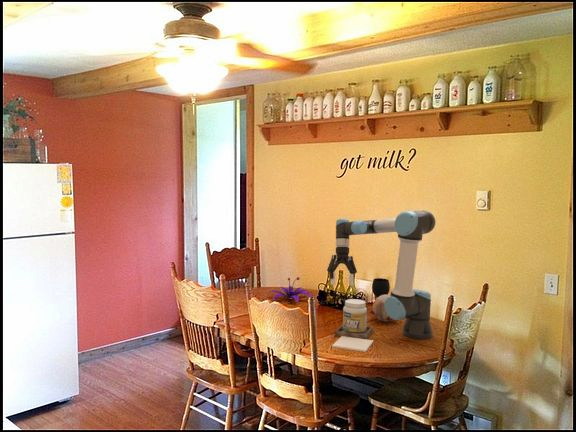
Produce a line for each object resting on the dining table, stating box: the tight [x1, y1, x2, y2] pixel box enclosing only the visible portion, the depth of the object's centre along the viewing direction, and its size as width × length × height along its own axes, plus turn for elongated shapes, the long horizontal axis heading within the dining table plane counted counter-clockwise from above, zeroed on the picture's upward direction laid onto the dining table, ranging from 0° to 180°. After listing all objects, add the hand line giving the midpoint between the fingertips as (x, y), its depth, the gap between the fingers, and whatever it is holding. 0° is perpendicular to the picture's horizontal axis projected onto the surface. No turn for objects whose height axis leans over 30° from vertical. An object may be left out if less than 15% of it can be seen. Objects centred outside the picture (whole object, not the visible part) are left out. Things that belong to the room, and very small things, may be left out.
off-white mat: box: [331, 336, 374, 353], centre depth 249 cm, size 16×16×1 cm
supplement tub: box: [342, 298, 368, 335], centre depth 266 cm, size 12×12×17 cm
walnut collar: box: [334, 323, 374, 340], centre depth 266 cm, size 16×16×2 cm
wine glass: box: [370, 277, 391, 315], centre depth 309 cm, size 10×10×20 cm
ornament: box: [372, 294, 395, 323], centre depth 291 cm, size 15×15×15 cm
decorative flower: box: [267, 276, 313, 303], centre depth 337 cm, size 28×31×15 cm
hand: (342, 285), depth 286 cm, fingers open, 13 cm apart
